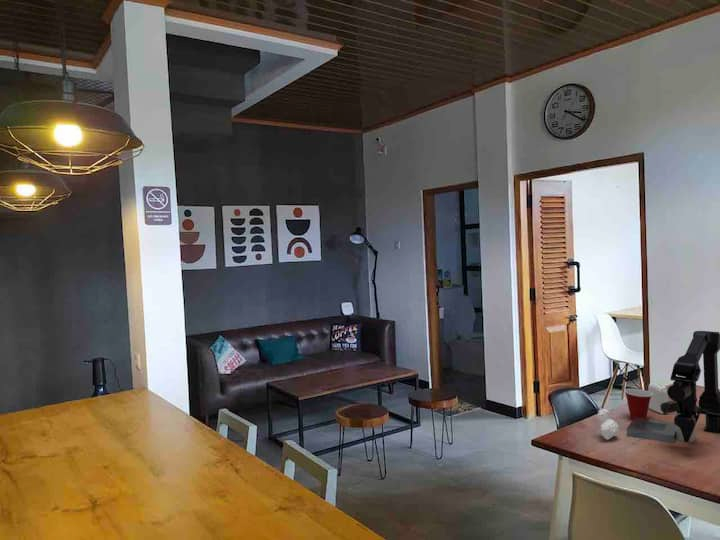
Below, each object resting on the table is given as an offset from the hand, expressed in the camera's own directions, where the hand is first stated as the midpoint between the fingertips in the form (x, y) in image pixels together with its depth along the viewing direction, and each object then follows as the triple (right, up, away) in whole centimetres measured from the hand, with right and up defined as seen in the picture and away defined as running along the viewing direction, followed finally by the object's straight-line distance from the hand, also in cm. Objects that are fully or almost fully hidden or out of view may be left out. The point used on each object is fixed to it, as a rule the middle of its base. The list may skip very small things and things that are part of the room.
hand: (687, 438), depth 197 cm
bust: (-22, -5, +15) cm, 27 cm away
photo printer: (+14, -2, +45) cm, 47 cm away
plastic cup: (0, -3, +35) cm, 35 cm away
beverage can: (+5, -4, +10) cm, 12 cm away
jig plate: (-3, -4, +18) cm, 18 cm away
